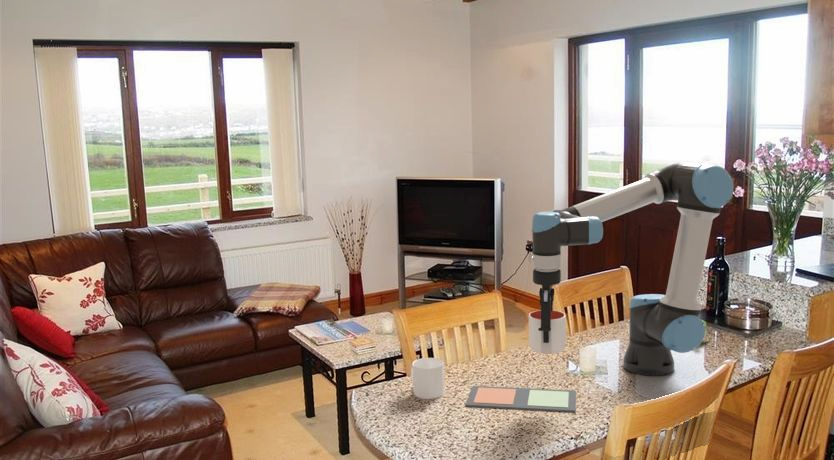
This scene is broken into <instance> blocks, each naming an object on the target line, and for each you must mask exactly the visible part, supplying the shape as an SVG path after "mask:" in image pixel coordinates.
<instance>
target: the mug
mask: <svg viewBox="0 0 834 460" xmlns="http://www.w3.org/2000/svg"><path fill="white" fill-rule="evenodd" d="M411 364H412V365H411V367H410V368H411V369H410V378H411V381H412V383H413V395H414V396H415V397H416V398H419V399H422V400H434V399H438V398H441V397H443V396H444V394H445V368H444V364H445V363H444V360H442V359H440V358H436V357H424V358H417V359H415V360H414V361H413V362H412V363H411Z"/></svg>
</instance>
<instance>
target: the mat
mask: <svg viewBox="0 0 834 460" xmlns="http://www.w3.org/2000/svg"><path fill="white" fill-rule="evenodd" d="M576 396H577V390H574V389H573V390H570V389H552V388H551V389H547V388H528V387H527V388H526V387H506V386H489V385H487V386H485V385H484V386H483V385H472V386H471V390H470V391H469V394H468V397H467V399H466V403H465V407H468V408H469V407H470V408H471V407H473V408H475V407H476V408H488V409H489V408H490V409H491V408H492V409H506V410H507V409H509V410H511V409H512V410H527V411H528V410H529V411H545V412H549V411H550V412H563V413H564V412H565V413H576V411H577V409H576V406H577V403H576V401H577V397H576Z"/></svg>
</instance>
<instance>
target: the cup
mask: <svg viewBox="0 0 834 460" xmlns="http://www.w3.org/2000/svg"><path fill="white" fill-rule="evenodd" d="M566 324H567V323H566V314H565V312H562V311H558V310H555V309H553V310H552V311H551V354H550V355H553V354H559V353H561V352H563V351H564V350H565V349H566V345H567V344H566V339H567V337H566V335H567V332H566V329H567V328H566V326H567V325H566ZM540 327H541V309H540V310H536V311H535V310H534V311H531V312H529V314H528V346H529V348H530V349H531V351H533V352H535V353H537V354H541V331H539V330H538V328H540Z"/></svg>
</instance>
